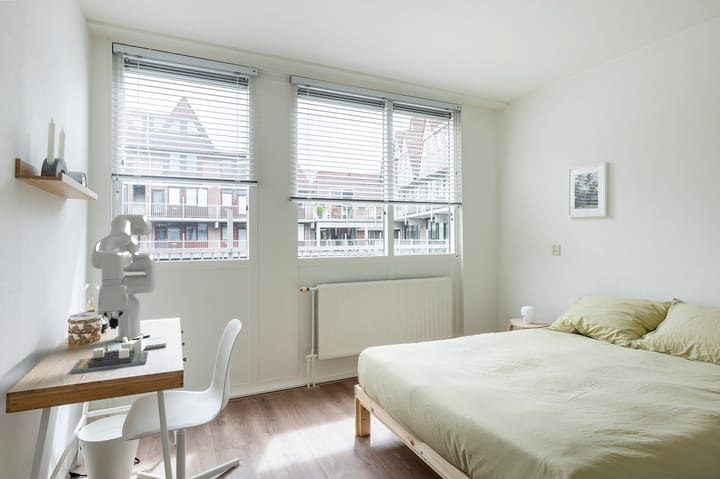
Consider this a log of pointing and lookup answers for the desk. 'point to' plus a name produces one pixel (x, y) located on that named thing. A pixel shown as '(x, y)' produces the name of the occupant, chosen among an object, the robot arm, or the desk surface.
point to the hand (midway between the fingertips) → (113, 328)
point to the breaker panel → (110, 361)
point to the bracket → (137, 343)
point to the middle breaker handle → (98, 353)
